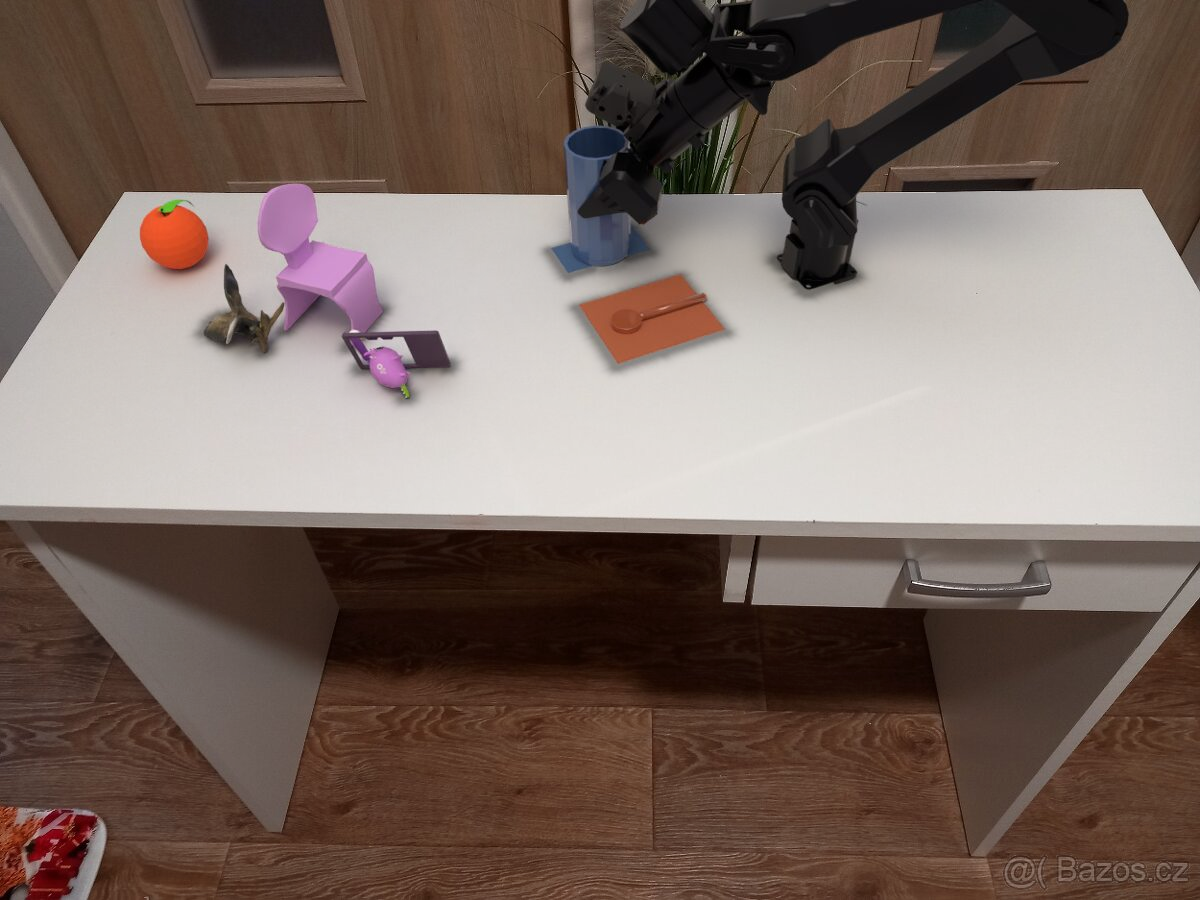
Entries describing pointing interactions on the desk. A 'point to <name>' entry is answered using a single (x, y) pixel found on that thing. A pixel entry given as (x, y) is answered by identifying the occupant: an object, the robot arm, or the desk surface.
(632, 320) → the terracotta spoon
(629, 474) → the desk surface
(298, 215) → the toy chair
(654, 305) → the terracotta mat
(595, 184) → the blue tumbler
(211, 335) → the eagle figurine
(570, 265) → the blue mat
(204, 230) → the clementine
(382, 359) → the pink creature with frame
